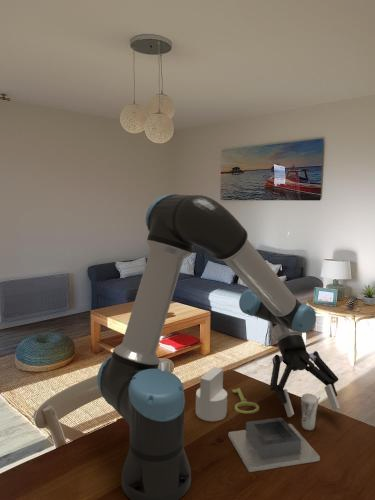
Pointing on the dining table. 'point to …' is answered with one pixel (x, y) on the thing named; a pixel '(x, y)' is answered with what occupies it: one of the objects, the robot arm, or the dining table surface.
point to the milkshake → (309, 410)
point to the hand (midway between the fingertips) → (314, 412)
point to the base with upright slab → (211, 396)
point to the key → (244, 403)
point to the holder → (271, 445)
